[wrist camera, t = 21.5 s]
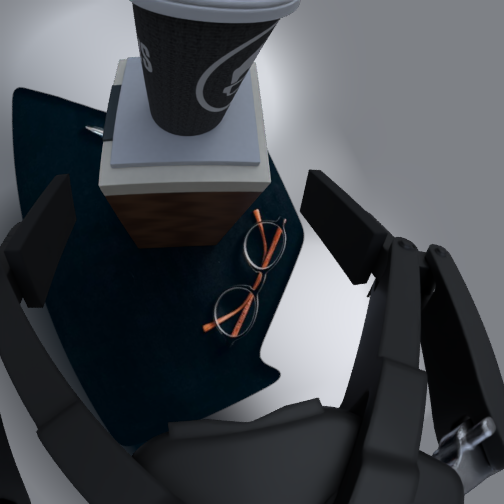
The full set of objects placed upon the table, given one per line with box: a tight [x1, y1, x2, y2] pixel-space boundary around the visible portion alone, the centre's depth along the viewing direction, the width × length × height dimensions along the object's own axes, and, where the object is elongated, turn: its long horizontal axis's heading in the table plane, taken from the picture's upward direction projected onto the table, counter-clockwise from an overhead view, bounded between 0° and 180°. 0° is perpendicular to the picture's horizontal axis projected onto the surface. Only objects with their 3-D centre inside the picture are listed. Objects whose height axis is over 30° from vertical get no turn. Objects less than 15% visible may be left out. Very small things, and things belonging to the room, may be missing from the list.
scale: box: [99, 57, 271, 196], centre depth 24 cm, size 14×14×3 cm
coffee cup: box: [130, 0, 300, 136], centre depth 15 cm, size 10×10×15 cm
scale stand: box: [105, 192, 262, 248], centre depth 39 cm, size 14×14×28 cm
